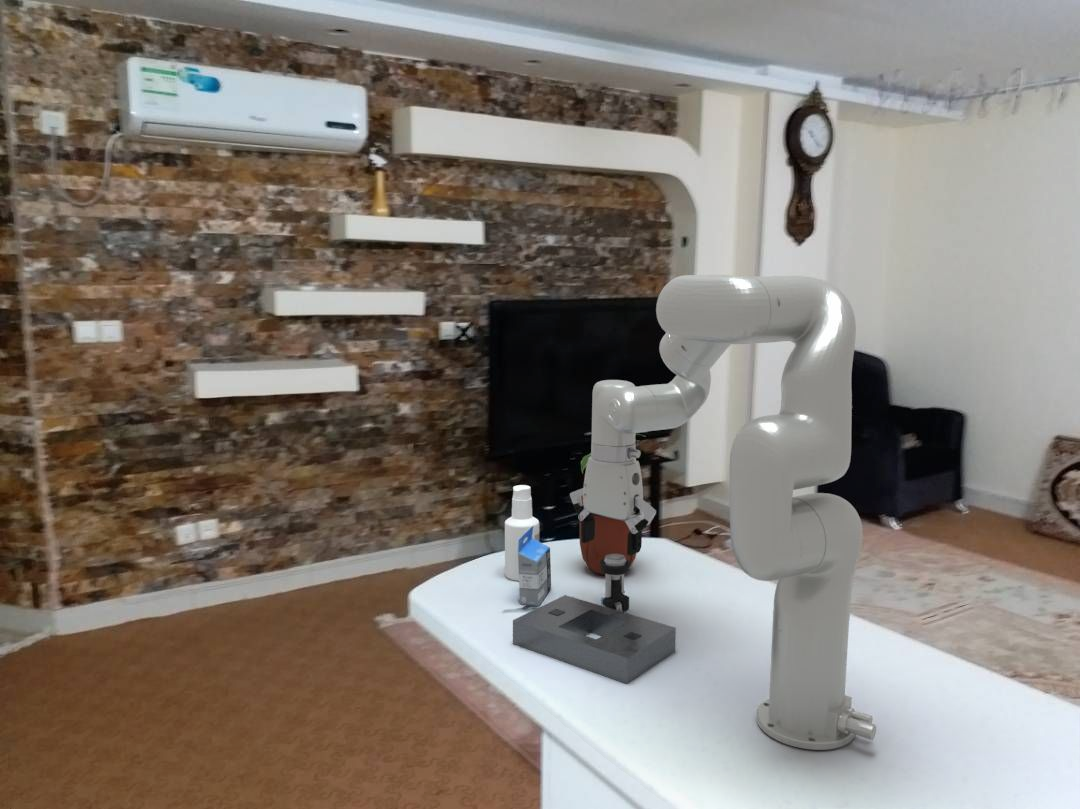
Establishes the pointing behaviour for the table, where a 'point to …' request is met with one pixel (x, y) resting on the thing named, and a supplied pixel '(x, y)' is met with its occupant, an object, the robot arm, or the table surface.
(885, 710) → the table surface
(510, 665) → the table surface
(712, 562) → the table surface
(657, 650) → the gray pocketed block
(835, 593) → the robot arm
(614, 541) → the potted plant
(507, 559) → the spray bottle
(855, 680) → the table surface
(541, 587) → the label tape box
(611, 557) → the push button
